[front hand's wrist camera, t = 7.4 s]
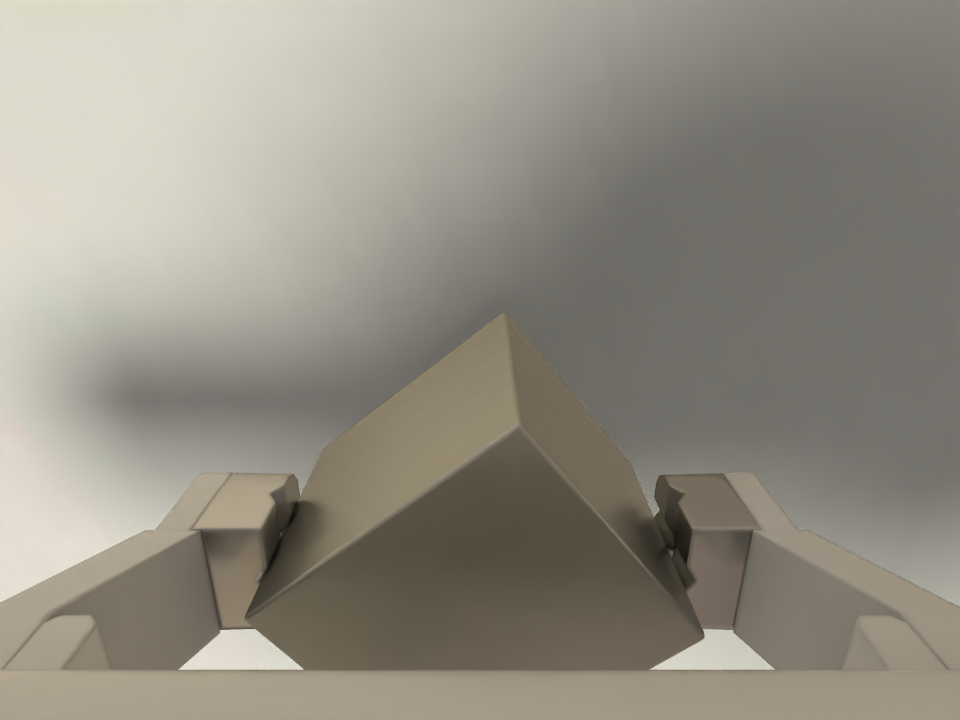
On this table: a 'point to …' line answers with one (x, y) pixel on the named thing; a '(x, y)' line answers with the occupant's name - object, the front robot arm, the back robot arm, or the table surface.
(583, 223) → the table surface
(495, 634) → the block
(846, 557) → the front robot arm
